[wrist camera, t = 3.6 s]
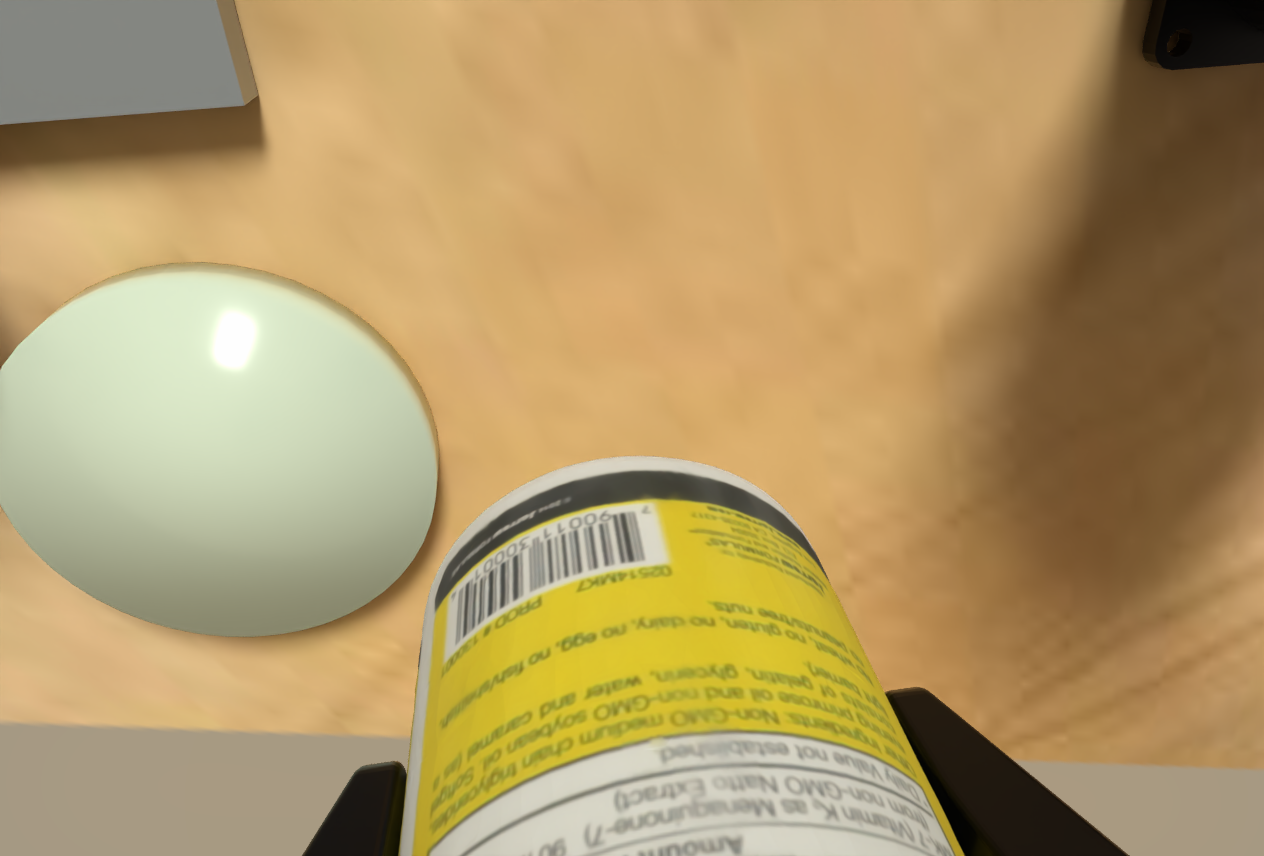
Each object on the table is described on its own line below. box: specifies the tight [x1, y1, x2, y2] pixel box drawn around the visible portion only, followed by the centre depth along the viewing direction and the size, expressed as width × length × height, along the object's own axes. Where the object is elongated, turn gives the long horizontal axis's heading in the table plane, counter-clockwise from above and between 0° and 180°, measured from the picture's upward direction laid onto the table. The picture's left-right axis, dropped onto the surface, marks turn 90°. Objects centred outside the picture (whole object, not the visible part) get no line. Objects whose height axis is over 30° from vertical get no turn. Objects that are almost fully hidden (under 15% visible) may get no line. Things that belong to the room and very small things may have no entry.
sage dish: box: [0, 262, 439, 637], centre depth 19 cm, size 9×9×1 cm
